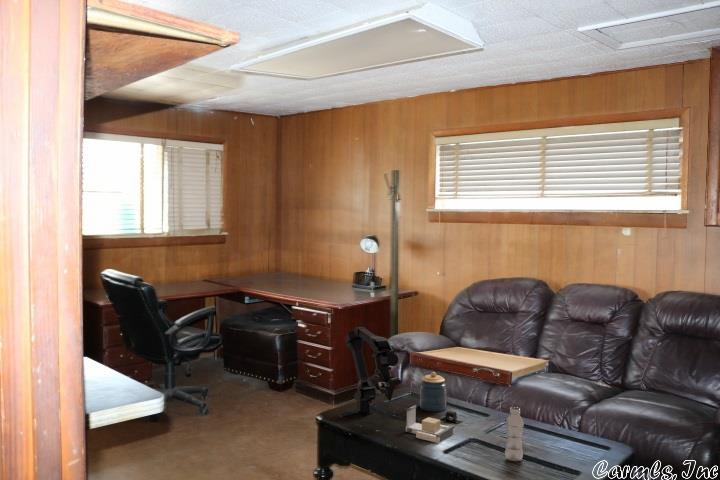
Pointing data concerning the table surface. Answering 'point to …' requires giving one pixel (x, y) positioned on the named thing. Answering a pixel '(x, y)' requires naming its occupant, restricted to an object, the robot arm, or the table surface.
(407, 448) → the table surface
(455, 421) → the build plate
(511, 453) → the plastic bottle
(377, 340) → the robot arm
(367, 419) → the table surface
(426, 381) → the canister
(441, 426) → the bay
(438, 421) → the trolley
